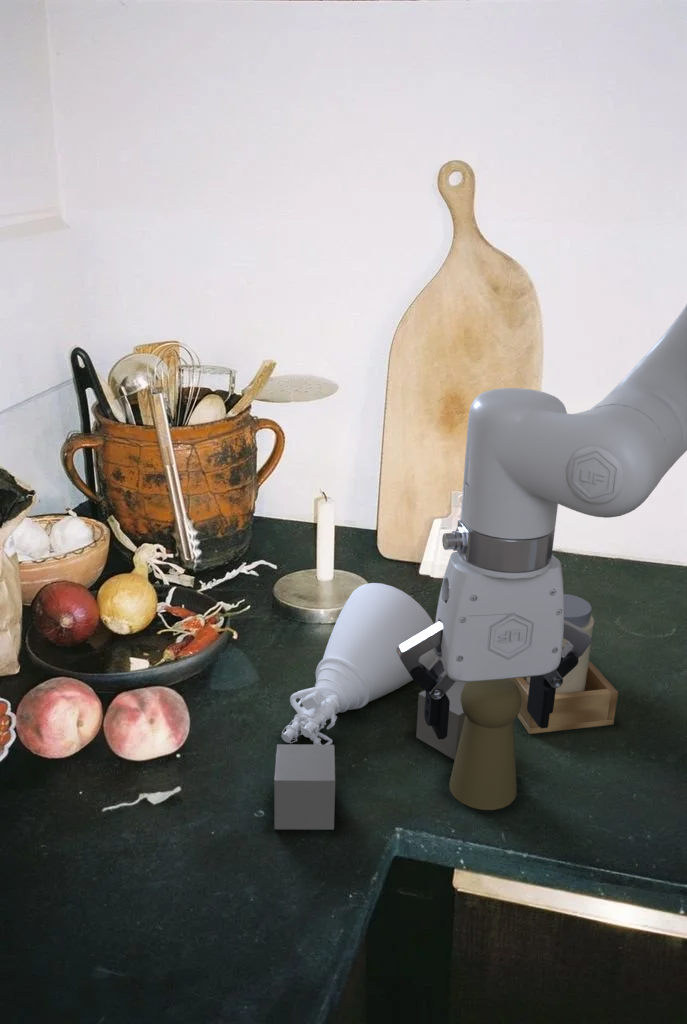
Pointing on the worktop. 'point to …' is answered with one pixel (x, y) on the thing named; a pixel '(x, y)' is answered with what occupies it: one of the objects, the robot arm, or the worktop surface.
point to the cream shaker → (578, 615)
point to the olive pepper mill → (487, 745)
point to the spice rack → (574, 705)
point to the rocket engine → (360, 658)
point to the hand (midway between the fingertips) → (487, 724)
